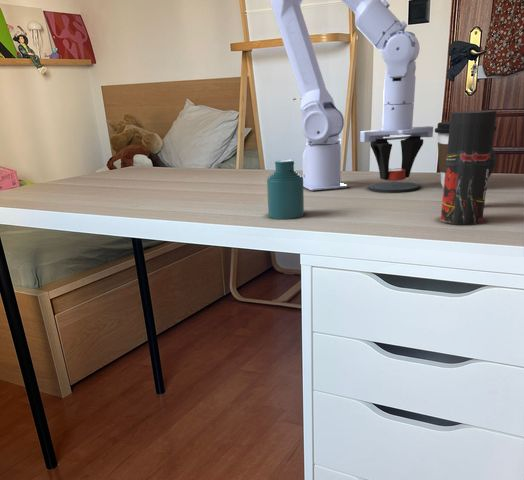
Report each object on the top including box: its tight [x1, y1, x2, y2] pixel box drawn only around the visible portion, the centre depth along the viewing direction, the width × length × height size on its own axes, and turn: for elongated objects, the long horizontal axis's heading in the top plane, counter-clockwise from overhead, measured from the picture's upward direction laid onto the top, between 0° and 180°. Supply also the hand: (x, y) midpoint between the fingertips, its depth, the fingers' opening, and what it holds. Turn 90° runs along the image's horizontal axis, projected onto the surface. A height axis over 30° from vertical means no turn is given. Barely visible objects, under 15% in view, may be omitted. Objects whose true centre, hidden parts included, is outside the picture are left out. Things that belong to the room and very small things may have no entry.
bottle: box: [266, 159, 305, 220], centre depth 88 cm, size 6×6×9 cm
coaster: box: [368, 181, 420, 194], centre depth 108 cm, size 10×10×1 cm
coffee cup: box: [434, 120, 497, 190], centre depth 102 cm, size 11×11×12 cm
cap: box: [386, 167, 406, 182], centre depth 106 cm, size 4×4×2 cm
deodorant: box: [440, 109, 497, 226], centre depth 76 cm, size 6×6×15 cm
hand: (394, 178), depth 107 cm, fingers closed on cap, 4 cm apart
